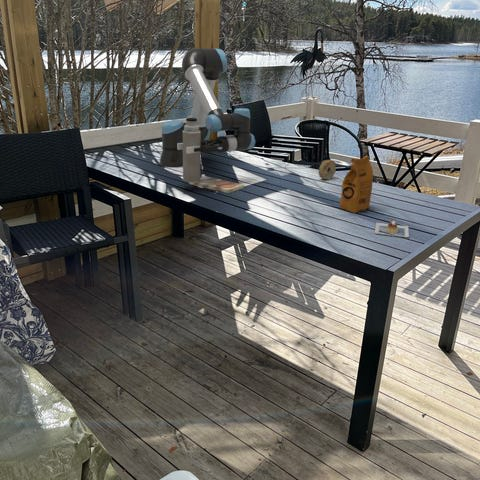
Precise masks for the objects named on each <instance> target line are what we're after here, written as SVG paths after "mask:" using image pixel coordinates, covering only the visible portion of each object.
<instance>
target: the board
mask: <svg viewBox="0 0 480 480" xmlns="http://www.w3.org/2000/svg"><path fill="white" fill-rule="evenodd" d="M188 185H192V186H195V187H196V186H197V187H201V188H206V189H209V190H214V191H217V192H222V193H225V194H226V193H227V194H230V193H233V192H236V191H238V190H241V189H244V188H245V184H243V183H239V182H234V181H228V180H225V179H221V178H220V179H219V178H215V177H210V176H206V175H204V176H200V181H198V182H188Z"/></svg>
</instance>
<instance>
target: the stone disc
mask: <svg viewBox="0 0 480 480" xmlns="http://www.w3.org/2000/svg"><path fill="white" fill-rule="evenodd" d="M336 169H337V168H336V162H335V161H334V160H332V159H325V160H323V161H322V162H321V164H320V165H319V168H318V177H319V178H320V179H323V180H325V179H328V180H330V179H329V178H331V179H332V178H333V177H334V175H335V174H336Z"/></svg>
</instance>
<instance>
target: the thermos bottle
mask: <svg viewBox="0 0 480 480" xmlns="http://www.w3.org/2000/svg"><path fill="white" fill-rule="evenodd" d="M185 123H186V125H185V126H184V130H183V166H182V181H183V182H187V183H189V182H198V181H200V177H201V153H202V152H201V151H200V152H197V153H189V154H187V153H186V147H193V146H200V148H201V131H199V126H198V125H197V119H196V118H188V117H187V118H185Z"/></svg>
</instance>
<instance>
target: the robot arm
mask: <svg viewBox="0 0 480 480" xmlns="http://www.w3.org/2000/svg"><path fill="white" fill-rule="evenodd" d="M181 69H182V70H181V71H182V73H183V75H184V78H185V79H187V80H188V81H189V83H190V85H191V87H192V89H193V91H194V93H195V95H194V101H193V105H192V109H191V113H190V115H189V116H187V118H196V119H197V125H198V126H199V131H201V148H200V146H193V147H186V153H187V154H189V153H197V152H200V151H201V152H200V153H203V154H209V153H215V152H217V153H218V154H219V153H226V152H228V153H231V152H239V151H247V150H252V149H253V148H254V147H255V145H256V139H255V135H254V134H252V133H251V132H250V131H251V130H250V129H251V112H250V109H249V108H235V109H234V110H233V112H232V113H224V111H223V109H222V108H221V105H220V103H219V102H218V99H217V97H216V96H215V93H214V89H215V85H216V81H218V80H219V79H220V77H221V74H225V72H227V69H228V59H227V55H226V53H225V52H224V50H222V49H221V48H215V47H213V48H202V47H200V48H199V47H195V48H192V49H189V50H188V51H187V52H185V54H184V55H183V57H182V61H181ZM185 125H186V122H184V121H183V120H181V119H174V120H168V121H165V122H163V123H162V124H161V144H162V146H161V148H162V150H161V156H160V159H159V165H160V166H161V167H166V166H167V168H178V167H179V168H180V167H183V130H184V126H185ZM222 131H223V132H224V131H225V132H226V131H233V132H234V133H233V134H228V135H221V136H220V135H219V136H216V137H215V139H213V140H212V139H210V136H211V132H222ZM209 139H210V140H209Z"/></svg>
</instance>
